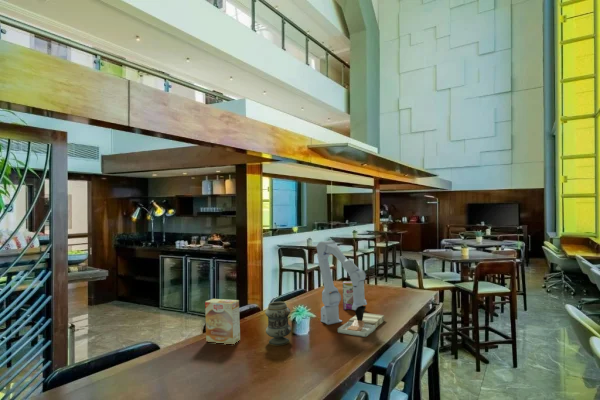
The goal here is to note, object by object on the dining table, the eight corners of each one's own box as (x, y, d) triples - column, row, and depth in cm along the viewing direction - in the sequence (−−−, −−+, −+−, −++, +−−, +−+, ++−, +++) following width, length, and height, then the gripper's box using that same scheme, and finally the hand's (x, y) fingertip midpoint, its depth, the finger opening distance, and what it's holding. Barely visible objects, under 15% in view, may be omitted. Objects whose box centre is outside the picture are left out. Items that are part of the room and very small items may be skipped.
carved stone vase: (280, 335, 181) (278, 299, 182) (297, 341, 173) (295, 302, 173) (260, 342, 173) (259, 304, 173) (277, 348, 164) (276, 308, 165)
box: (366, 337, 175) (366, 332, 175) (337, 332, 183) (337, 328, 183) (375, 329, 186) (375, 325, 186) (348, 325, 194) (348, 321, 194)
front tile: (360, 326, 182) (360, 331, 182) (351, 325, 185) (351, 329, 185) (356, 329, 178) (356, 334, 178) (347, 328, 181) (347, 332, 181)
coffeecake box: (205, 342, 176) (204, 301, 176) (214, 337, 182) (212, 298, 183) (233, 345, 170) (231, 303, 171) (240, 340, 177) (239, 299, 178)
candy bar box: (343, 310, 223) (342, 282, 224) (343, 307, 228) (342, 281, 229) (362, 309, 222) (360, 282, 223) (361, 307, 227) (360, 281, 228)
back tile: (361, 330, 183) (360, 327, 182) (351, 329, 186) (351, 325, 185) (364, 324, 187) (363, 321, 186) (355, 323, 190) (354, 319, 189)
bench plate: (374, 328, 186) (374, 322, 186) (349, 325, 194) (349, 319, 194) (384, 320, 199) (384, 315, 199) (360, 317, 206) (359, 312, 206)
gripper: (360, 297, 180) (361, 325, 180) (371, 291, 193) (372, 317, 192) (347, 296, 184) (348, 323, 184) (358, 290, 196) (359, 316, 196)
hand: (359, 320), depth 188 cm, fingers closed
